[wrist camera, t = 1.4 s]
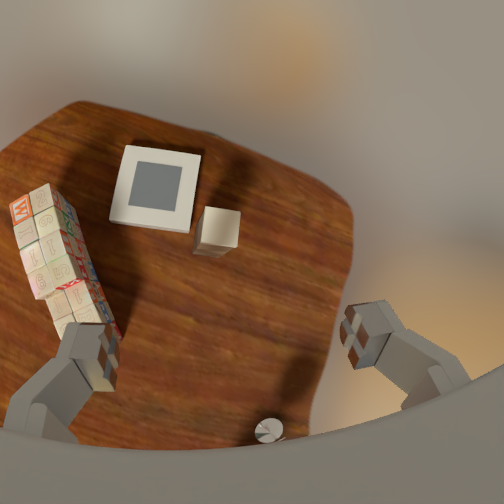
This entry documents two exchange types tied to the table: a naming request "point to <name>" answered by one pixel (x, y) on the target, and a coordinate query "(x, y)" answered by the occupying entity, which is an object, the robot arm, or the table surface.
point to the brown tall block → (216, 232)
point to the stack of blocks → (59, 260)
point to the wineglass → (270, 431)
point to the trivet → (155, 189)
